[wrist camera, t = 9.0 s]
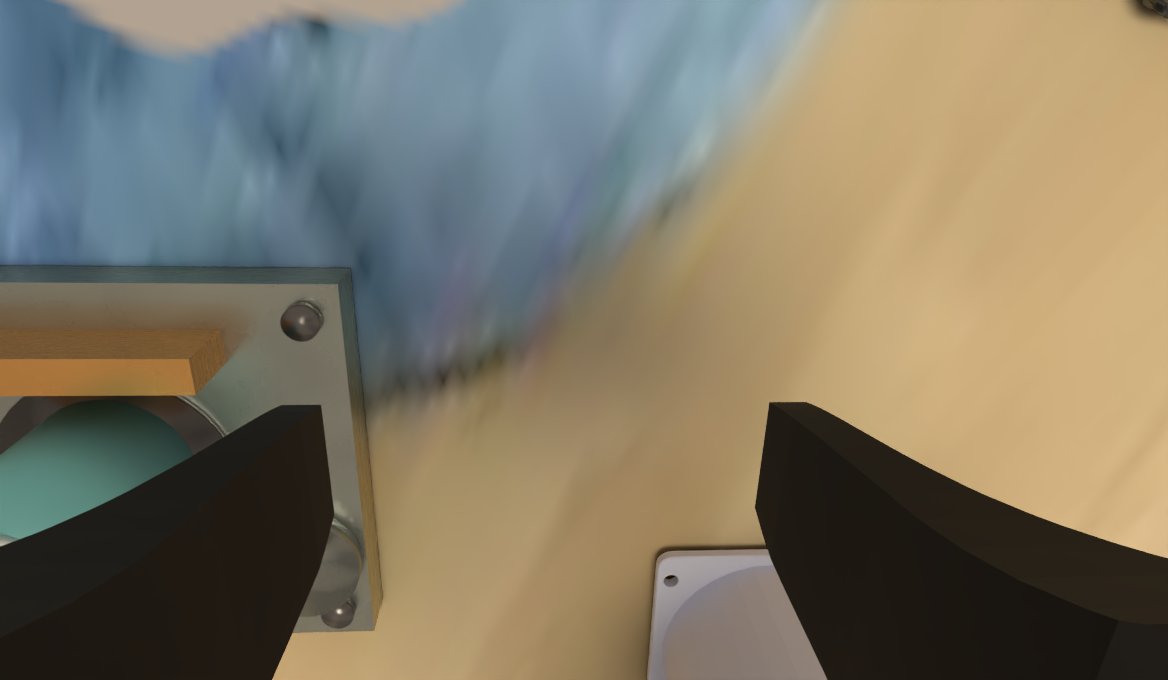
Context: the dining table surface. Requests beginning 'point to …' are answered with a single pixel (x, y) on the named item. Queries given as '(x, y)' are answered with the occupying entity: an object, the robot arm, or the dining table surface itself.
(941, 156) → the dining table surface
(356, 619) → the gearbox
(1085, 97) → the dining table surface
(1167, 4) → the stone
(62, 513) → the spout can
